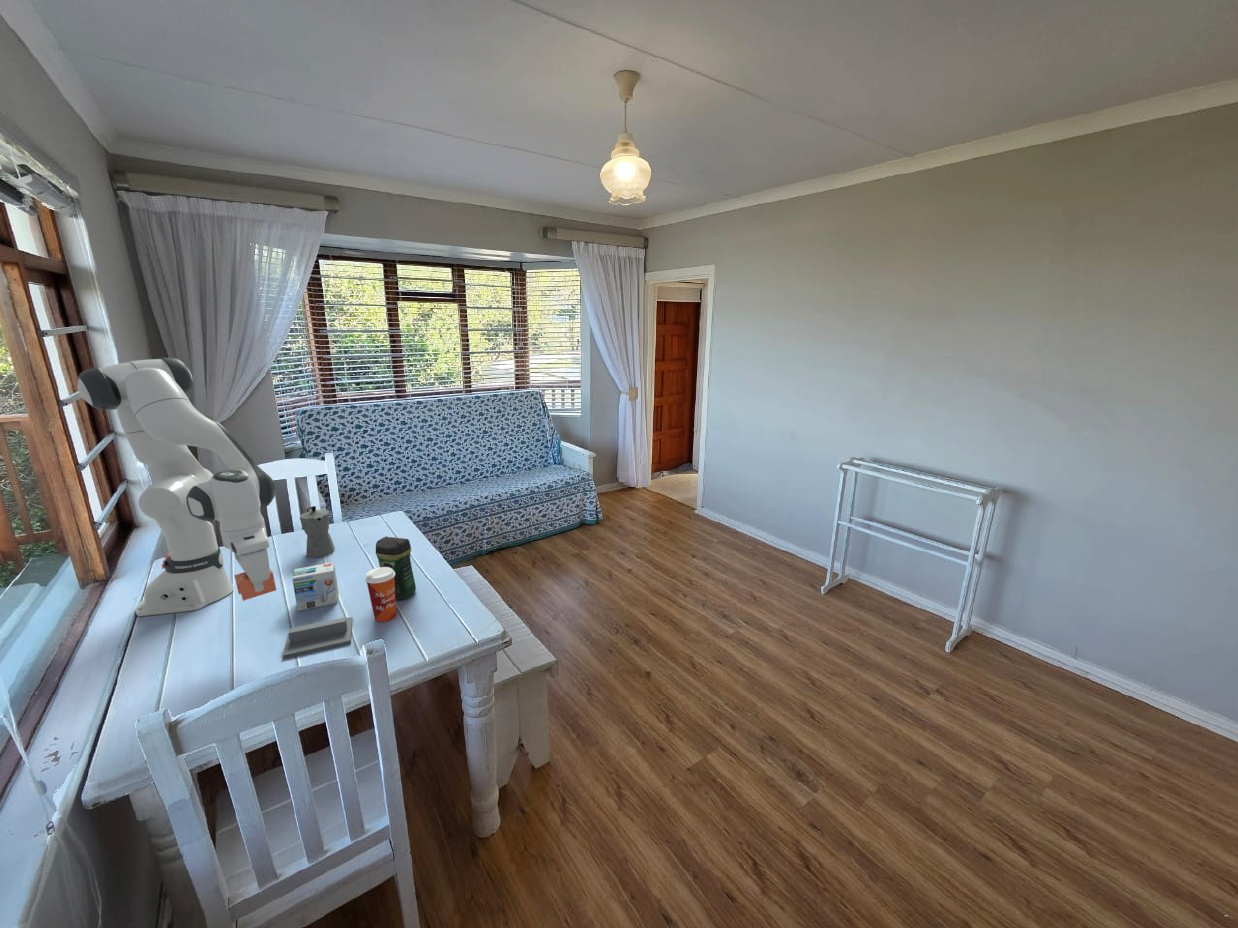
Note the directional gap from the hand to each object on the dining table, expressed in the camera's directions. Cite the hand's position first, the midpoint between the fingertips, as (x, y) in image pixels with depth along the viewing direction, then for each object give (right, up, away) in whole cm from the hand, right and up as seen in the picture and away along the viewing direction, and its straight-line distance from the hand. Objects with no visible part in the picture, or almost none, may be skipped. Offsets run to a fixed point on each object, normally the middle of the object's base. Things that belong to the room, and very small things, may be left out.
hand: (255, 585), depth 126 cm
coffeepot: (-18, -2, +57) cm, 60 cm away
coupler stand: (+13, -15, +6) cm, 21 cm away
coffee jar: (+24, -10, +28) cm, 38 cm away
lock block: (0, -2, +1) cm, 2 cm away
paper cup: (+25, -13, +16) cm, 33 cm away
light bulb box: (+2, -11, +23) cm, 26 cm away
